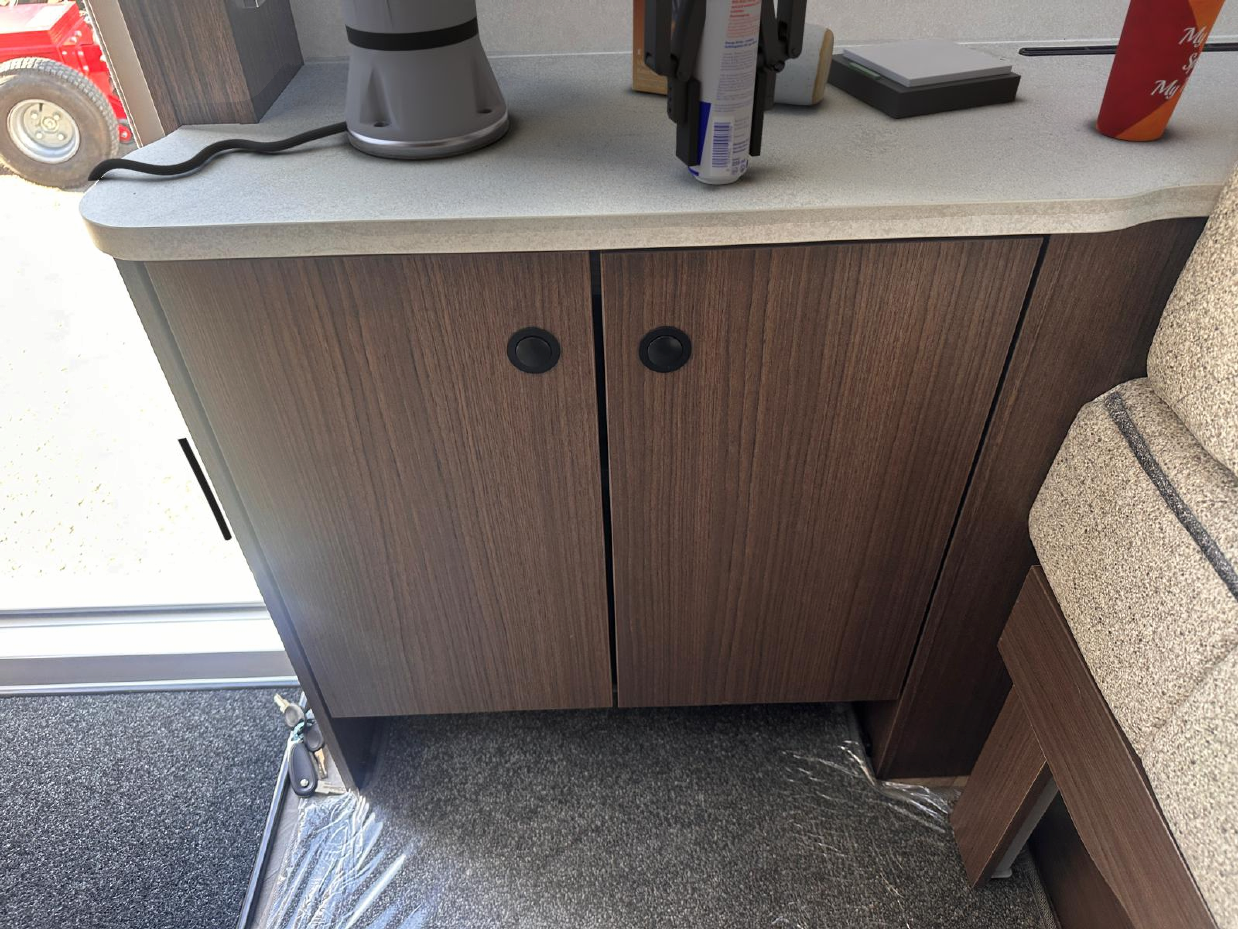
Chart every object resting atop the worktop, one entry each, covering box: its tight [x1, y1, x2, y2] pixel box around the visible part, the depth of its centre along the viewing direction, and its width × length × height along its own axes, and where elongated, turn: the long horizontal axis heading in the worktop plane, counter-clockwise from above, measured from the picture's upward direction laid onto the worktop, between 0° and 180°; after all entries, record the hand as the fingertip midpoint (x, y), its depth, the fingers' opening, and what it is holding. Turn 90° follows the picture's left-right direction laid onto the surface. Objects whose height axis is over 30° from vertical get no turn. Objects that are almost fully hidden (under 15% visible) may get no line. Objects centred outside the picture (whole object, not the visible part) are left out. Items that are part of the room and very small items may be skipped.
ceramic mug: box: [774, 22, 835, 106], centre depth 84 cm, size 11×8×8 cm
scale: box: [827, 36, 1022, 119], centre depth 87 cm, size 14×14×3 cm
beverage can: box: [687, 0, 762, 185], centre depth 66 cm, size 5×5×15 cm
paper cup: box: [1095, 0, 1226, 142], centre depth 73 cm, size 8×8×14 cm
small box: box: [631, 0, 681, 96], centre depth 86 cm, size 8×6×10 cm
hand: (717, 154), depth 70 cm, fingers closed on beverage can, 5 cm apart
